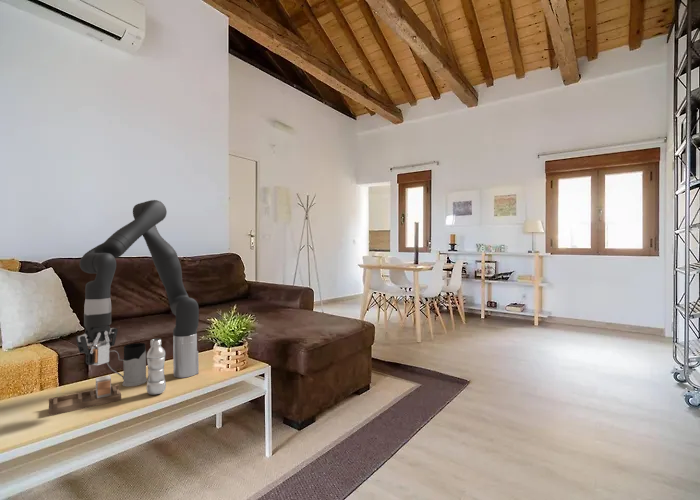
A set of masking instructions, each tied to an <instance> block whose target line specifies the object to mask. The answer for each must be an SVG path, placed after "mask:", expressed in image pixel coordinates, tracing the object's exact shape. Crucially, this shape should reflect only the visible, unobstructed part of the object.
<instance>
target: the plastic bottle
mask: <svg viewBox="0 0 700 500" xmlns="http://www.w3.org/2000/svg"><path fill="white" fill-rule="evenodd" d="M149 344H150V345H149V346H150V348H149V349H148V351H146V364H147V369H148V371H147V373H148V375H147V382H146V392H147V394H148V395H151V396H154V395H160V394H162V393H164V392H165V391H166V387H167V383H166V377H165V361H166V350H165V348H163V346H162V338H153V339H150V343H149Z"/></svg>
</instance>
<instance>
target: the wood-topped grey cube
mask: <svg viewBox="0 0 700 500" xmlns="http://www.w3.org/2000/svg"><path fill="white" fill-rule="evenodd" d="M90 348H91V347H90ZM89 350H90V349H89ZM109 351H110V348H109V344H100V343H99V342H98V343H97V346H96V347H95V349H94V352H93V353H94V364H93V365H92V366H100V365H104V364H107V362H108V363H109V362H110V353H109Z"/></svg>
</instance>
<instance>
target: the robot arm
mask: <svg viewBox="0 0 700 500" xmlns="http://www.w3.org/2000/svg"><path fill="white" fill-rule="evenodd" d="M132 217H133V218H134V219H133V220H132V221H131V222H128V223H127V224H126V225H124V226H121V228H119V229H118V230H116V231H114V233H113V234H111V236H109V237H108V238H107V239H106V240H105V241H104V242H102V243H101V244H98V245H97V246H94V247H93V248H91V249H90V250H88V251H87V252H85V253H84V254H83V255H82V257H81V258H80V260H79V268H80V270H81V271H82V272H84V273H87V274H96V275H95V278H94V280H90V281H88V282H86V284H85V289H84V290H85V293H84V298H85V300H84V305H83V307H84V309H83V310H84V313H83V327H84V328H85V331H84V333H83V334H81V335H76V336H75V341H76V344H77V349H78V352H79V353H80V354H85V364H86V365H87V366H94V365H93V364H94V353H93V352H94V349H95V347H96V346H97V344H99V343H100V344H109V349H110V348H111V347H112V346H115V345H116V341H117V340H116V339H117V335H118V328H117V327H111V326H110V325H111V324H112V301H111V285H112V282H113V280H114V279H113V278H114V275H115V272H116V270H117V260H116V258H119V257H121V256H122V255H123V254H125V252H127V250H129V248H131V247H132V246H133V244H134V243H135V242H137V241H138V240H139V239H140V238H141V237H143V239H144V241H145V244H146V246H147V248H148V250H149V253H150V256H151V258H152V259H151V260H152V261H153V264H154V267H155V269H156V272H157V273H158V275H159V278H160V281H161V282H162V285H163V286H164V289H165V292H166V295H167V299H168V303H169V307H170V310H171V312H172V314H173V315H174V316H175V327H174V328H173V330H172V336H173V337H172V338H173V340H172V342H173V348H172V349H173V350H172V354H173V363H172V364H173V377H174V378H178V379H179V378H190V377H194V376H195V375H197V374H199V372H200V371H199V362H200V361H199V350H198V334H197V333H198V331H197V330H198V329H199V328H198V327H199V314H200V309H199V307H200V306H199V303H198V302H197V300H196V299H195V298H193V297H191V296H190V297H189V294H188V293H187V290H186V287H185V286H184V283H183V271H182V265H181V262H180V260H179V257H178V254H177V251H176V250H175V249H174V248H173V246H172V245H171V244H170V242H169V243H168V242H167V241H166V239H164V237H162V236H161V234H160V232H159V230H158V229H157V226H156V225H158V224H159V223H161V222H163V221H164V219H166V217H167V207H166V205H165V204H164V203H163V202H162V201H161V200H157V199H151V200H148V201H147V200H146V201H144V202H140V203H136V204H135V205H134V206H133V207H132ZM90 347H91V348H90ZM89 349H90V350H89Z"/></svg>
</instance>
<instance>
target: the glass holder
mask: <svg viewBox="0 0 700 500" xmlns="http://www.w3.org/2000/svg"><path fill="white" fill-rule="evenodd" d="M112 352H115V353H117V358H118V361H123V363H122V365H123V375H122V374H121V373H120V372H118V371H116V370H115V369H113V368H112V366H111V364H110V363H109V362H107V363H106V364H107V367H108V368H109V369H110V370H111V371H112V372H114V373H116V374H117V375H119V376H120V377H122V381H123V382H122V384H121V385H122V386H123V387H136V386H137V387H138V386H141V385H143V384H145V383H147V382H148V377H147V356H146V355H147V349H146V343H144V342H135V343H134V342H133V343H128V344H125V345H124V346H123V359H121V358H120V353H119V351H117V350H109V354H110V353H112Z"/></svg>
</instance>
